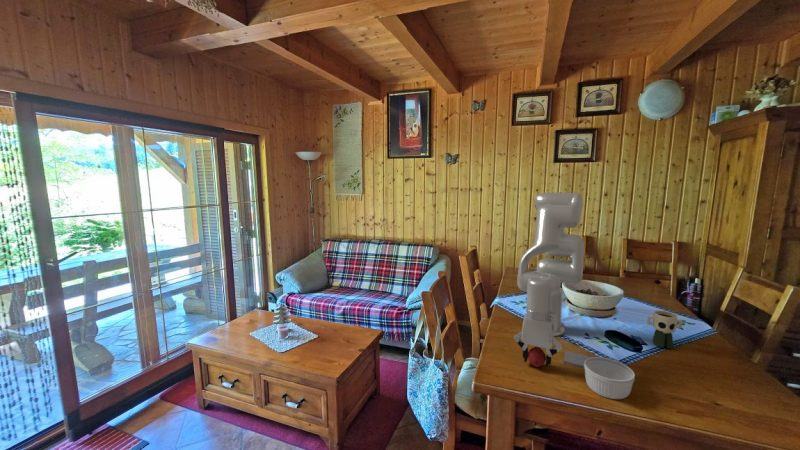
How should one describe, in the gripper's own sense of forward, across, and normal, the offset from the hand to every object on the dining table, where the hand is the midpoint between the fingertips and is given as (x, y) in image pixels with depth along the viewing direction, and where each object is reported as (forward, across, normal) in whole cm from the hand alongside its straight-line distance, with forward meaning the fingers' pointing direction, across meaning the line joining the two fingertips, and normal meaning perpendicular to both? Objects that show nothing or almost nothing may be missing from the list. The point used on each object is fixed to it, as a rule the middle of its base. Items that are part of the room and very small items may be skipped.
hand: (536, 362), depth 113 cm
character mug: (+2, -40, -39) cm, 56 cm away
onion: (+2, 0, 0) cm, 2 cm away
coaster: (+2, -12, -11) cm, 16 cm away
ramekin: (+2, -21, +2) cm, 21 cm away
